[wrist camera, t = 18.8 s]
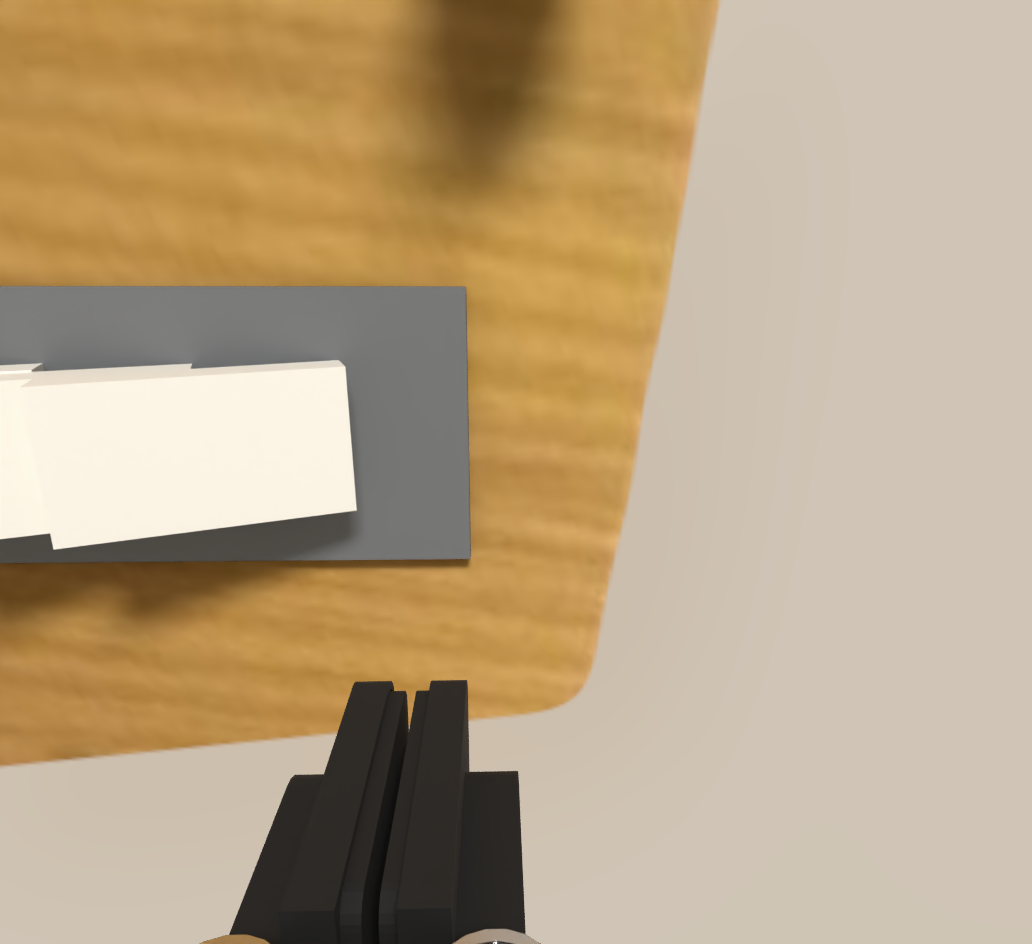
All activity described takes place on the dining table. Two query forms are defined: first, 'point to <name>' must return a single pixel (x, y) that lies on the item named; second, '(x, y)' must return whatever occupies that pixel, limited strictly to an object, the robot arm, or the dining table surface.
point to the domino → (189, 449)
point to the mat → (273, 340)
